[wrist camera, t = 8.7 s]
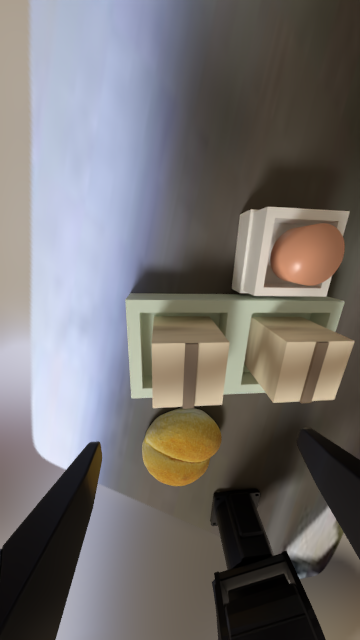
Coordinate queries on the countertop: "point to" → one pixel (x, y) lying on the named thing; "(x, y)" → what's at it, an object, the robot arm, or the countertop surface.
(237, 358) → the pale green divided tray
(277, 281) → the button housing
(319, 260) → the button
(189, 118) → the countertop surface
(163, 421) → the bread roll
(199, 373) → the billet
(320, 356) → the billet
